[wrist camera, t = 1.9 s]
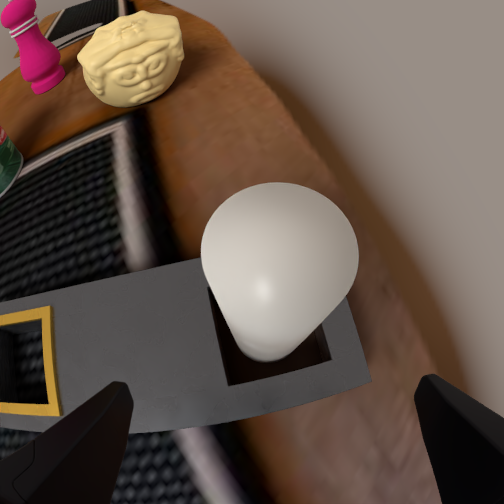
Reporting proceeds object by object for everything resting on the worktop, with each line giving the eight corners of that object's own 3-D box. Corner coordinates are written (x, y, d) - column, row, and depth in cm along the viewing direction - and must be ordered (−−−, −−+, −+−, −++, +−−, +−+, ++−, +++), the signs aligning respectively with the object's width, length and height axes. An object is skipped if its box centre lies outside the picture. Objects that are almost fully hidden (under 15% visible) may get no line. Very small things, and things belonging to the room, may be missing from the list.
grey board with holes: (316, 247, 22) (323, 228, 19) (358, 382, 18) (373, 381, 15) (0, 315, 19) (-20, 305, 17) (8, 425, 15) (-14, 424, 13)
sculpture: (107, 136, 28) (71, 55, 18) (92, 91, 32) (67, 29, 22) (202, 93, 30) (190, 9, 20) (168, 58, 34) (155, -7, 25)
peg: (303, 358, 18) (375, 311, 7) (238, 367, 18) (206, 336, 7) (293, 296, 20) (336, 177, 9) (231, 304, 20) (198, 190, 9)
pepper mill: (41, 79, 37) (5, -4, 19) (73, 66, 37) (40, -25, 19) (26, 102, 34) (-18, 12, 16) (60, 87, 34) (18, -13, 16)
